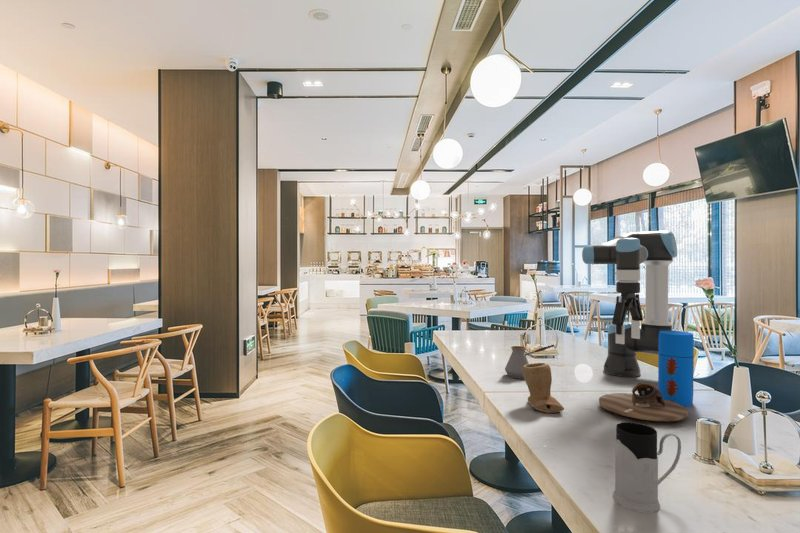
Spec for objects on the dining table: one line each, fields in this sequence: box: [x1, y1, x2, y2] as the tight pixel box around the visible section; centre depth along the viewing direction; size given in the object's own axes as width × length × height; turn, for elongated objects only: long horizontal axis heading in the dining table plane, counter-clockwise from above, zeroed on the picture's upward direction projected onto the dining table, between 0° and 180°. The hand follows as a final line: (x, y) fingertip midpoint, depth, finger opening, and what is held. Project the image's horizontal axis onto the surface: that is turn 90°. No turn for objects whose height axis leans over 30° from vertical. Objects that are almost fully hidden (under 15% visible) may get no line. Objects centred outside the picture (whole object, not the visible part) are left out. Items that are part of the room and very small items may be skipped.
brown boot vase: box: [523, 362, 565, 414], centre depth 150 cm, size 15×12×15 cm
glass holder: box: [612, 421, 682, 513], centre depth 90 cm, size 9×14×15 cm, turn 95°
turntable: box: [598, 392, 689, 422], centre depth 145 cm, size 26×26×1 cm
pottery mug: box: [631, 382, 665, 407], centre depth 145 cm, size 12×10×8 cm
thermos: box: [657, 330, 695, 407], centre depth 157 cm, size 11×11×25 cm
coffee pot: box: [504, 344, 556, 379], centre depth 190 cm, size 21×12×15 cm, turn 71°
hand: (628, 341), depth 155 cm, fingers open, 13 cm apart
